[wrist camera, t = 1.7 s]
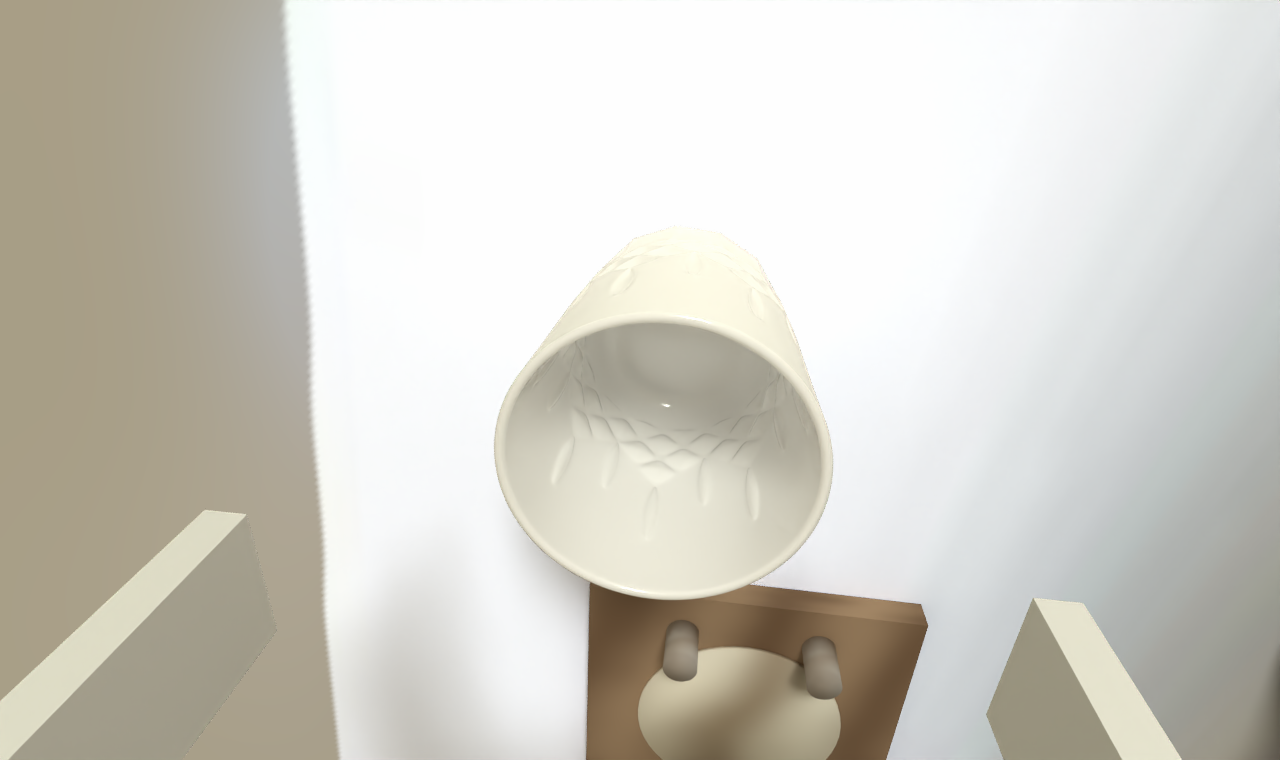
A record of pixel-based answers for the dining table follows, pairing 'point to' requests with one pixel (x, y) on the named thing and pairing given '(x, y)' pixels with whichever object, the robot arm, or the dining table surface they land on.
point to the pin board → (748, 675)
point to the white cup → (668, 426)
